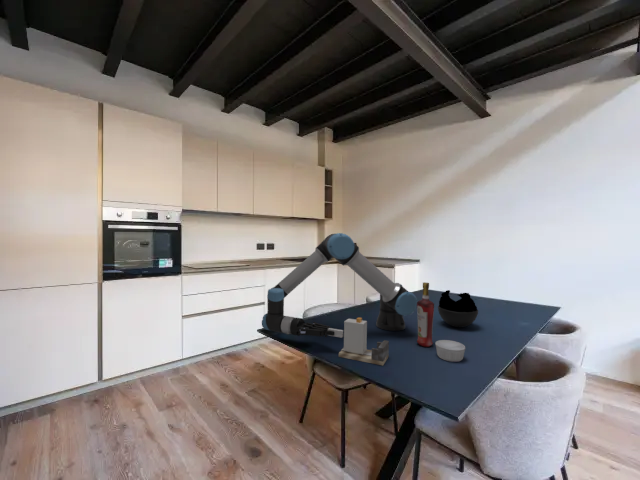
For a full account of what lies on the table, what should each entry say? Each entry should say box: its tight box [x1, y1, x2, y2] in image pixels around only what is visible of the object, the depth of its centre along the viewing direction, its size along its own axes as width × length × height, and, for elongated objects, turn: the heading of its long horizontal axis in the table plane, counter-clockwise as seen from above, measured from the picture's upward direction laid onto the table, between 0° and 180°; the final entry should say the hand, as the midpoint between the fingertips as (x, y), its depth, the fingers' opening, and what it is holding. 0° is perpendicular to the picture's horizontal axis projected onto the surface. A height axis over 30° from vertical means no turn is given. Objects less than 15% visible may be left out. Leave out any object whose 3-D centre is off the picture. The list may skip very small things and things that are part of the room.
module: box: [343, 317, 368, 355], centre depth 123 cm, size 8×5×13 cm, turn 64°
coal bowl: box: [437, 289, 479, 328], centre depth 165 cm, size 20×20×19 cm
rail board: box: [338, 340, 390, 366], centre depth 121 cm, size 18×9×6 cm, turn 64°
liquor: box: [416, 282, 435, 348], centre depth 135 cm, size 7×7×28 cm
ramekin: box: [434, 339, 466, 363], centre depth 122 cm, size 11×11×5 cm
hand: (342, 334), depth 125 cm, fingers closed
